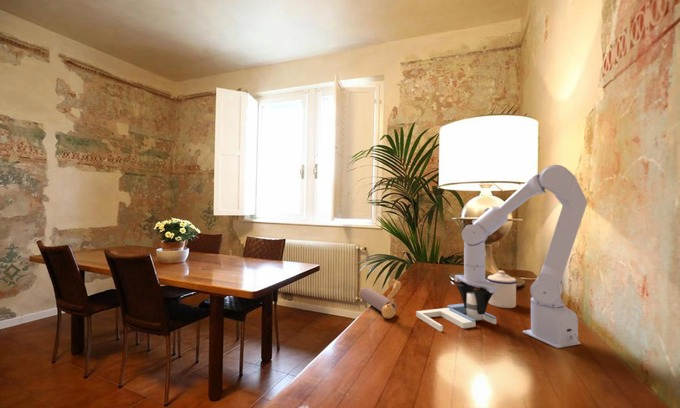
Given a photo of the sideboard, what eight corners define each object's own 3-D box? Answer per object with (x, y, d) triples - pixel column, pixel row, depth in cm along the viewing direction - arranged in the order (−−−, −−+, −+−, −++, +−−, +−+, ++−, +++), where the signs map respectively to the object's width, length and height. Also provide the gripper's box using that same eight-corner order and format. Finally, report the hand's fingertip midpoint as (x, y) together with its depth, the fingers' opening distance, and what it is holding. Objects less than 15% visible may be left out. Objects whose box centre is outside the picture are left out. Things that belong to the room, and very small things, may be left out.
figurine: (386, 313, 94) (386, 275, 94) (405, 316, 91) (404, 276, 91) (377, 321, 86) (377, 280, 87) (397, 324, 84) (397, 282, 84)
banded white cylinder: (485, 320, 85) (485, 296, 86) (469, 320, 86) (469, 295, 86) (479, 314, 90) (479, 291, 90) (463, 314, 90) (463, 291, 90)
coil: (398, 300, 92) (370, 286, 109) (385, 300, 90) (359, 286, 107) (396, 316, 92) (369, 299, 108) (383, 316, 90) (358, 299, 107)
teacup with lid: (521, 305, 102) (521, 271, 102) (510, 310, 97) (509, 274, 97) (486, 296, 112) (486, 266, 112) (474, 301, 106) (474, 268, 106)
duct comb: (496, 323, 85) (496, 316, 85) (440, 331, 80) (440, 323, 80) (466, 309, 97) (466, 303, 97) (415, 315, 91) (415, 308, 91)
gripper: (505, 268, 83) (505, 317, 82) (467, 260, 96) (467, 302, 96) (486, 270, 80) (486, 320, 80) (449, 261, 94) (449, 304, 94)
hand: (474, 310), depth 88 cm, fingers closed on banded white cylinder, 5 cm apart
